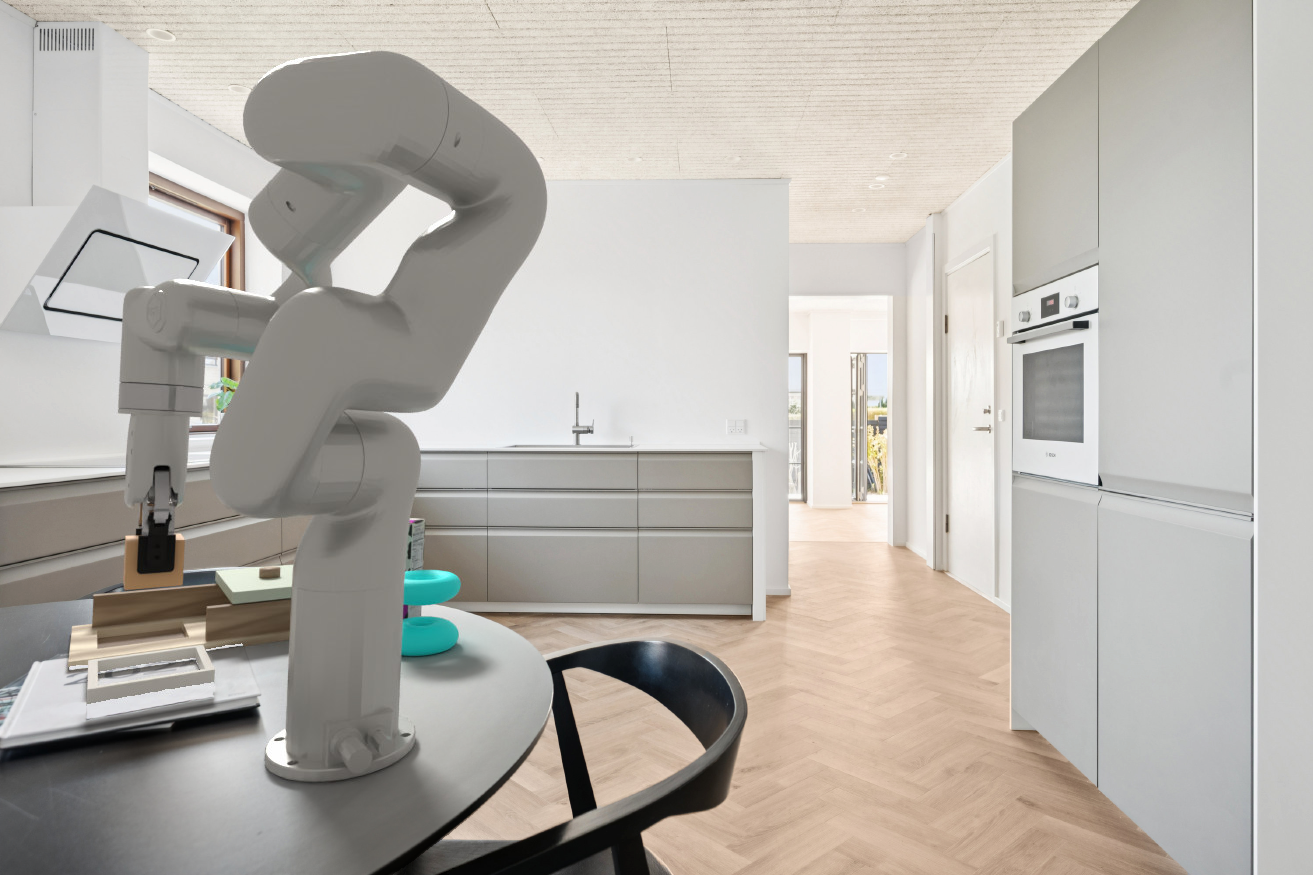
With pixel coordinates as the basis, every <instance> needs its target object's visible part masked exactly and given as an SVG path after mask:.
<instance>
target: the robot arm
mask: <svg viewBox="0 0 1313 875" xmlns="http://www.w3.org/2000/svg"><path fill="white" fill-rule="evenodd" d="M242 127H243V131H244V132H243V133H244V136H245V138H246V141H247V142H248V144H249V146H250V147H251V149H253V151H254V152H255V153H256V155H258V156H260V157H261V158H262V159H263V160H265V161H267V162H268V163H270V164H272V165H275V166H277V167H279V168H280V169H279V170H278V171H277V173H276V174H275V175H274V176H273V177H272V179H270V180H269V181H268V183H266V184H265V186H264V187H263V188H262V189H261V191H259V192H258V193H257V194H256V196H255V197H253V199H252V200H251V202H250V203H249V206H248V208H247V209H248V210H247V217H248V222H249V225H250V227H251V230H252V232H253V233H254V234H255V236H256V237H257V239H258V240H259V242H260V243H261V244H262V246H264V248H266V250H267V251H268V252H269V253H270V254H271V255H272V256H273V257H274V258H275V259H277V260H278V261H279V262H280V263H282V264H283V266H285V267H286V268H287V269H289V270H290V271H291V273H290V274H289V276H288V277H287V278H286V279H285V280H284V282H283V283H282V284H281V285H280V286H278V288H276V290H274V292H273V293H271V294H269V295H268V296H263V295H260V294H256V293H251V292H246V291H243V290H238V289H233V288H229V287H225V286H220V285H219V286H218V285H214V284H209V283H205V282H200V281H197V280H196V281H195V280H191V279H184V278H183V279H182V278H178V279H177V278H176V279H175V278H174V279H169V280H166V281H163V282H161V283H159V284H157V285H155V286H137V287H133V288H131V289H129V290H127V292H126V293H125V295H124V297H123V305H122V322H121V340H120V341H121V342H120V343H121V345H120V362H119V363H120V364H119V383H118V384H119V385H118V401H117V402H118V403H117V404H118V405H117V414H123V415H126V414H127V415H130V416H129V424H128V431H127V438H126V439H127V440H126V452H125V472H124V473H125V476H124V477H125V478H124V496H123V501H124V503H125V505H126V506H127V508H130V509H135V504H138V505H139V511H138V528H135V535H142V536H138V556H137V572H138V573H139V574H151V573H164V572H172V571H173V570H174V565H175V545H176V534H177V533H175V518H176V516H175V515H176V514H175V513H176V512H175V511H176V508H178V507H179V506H181V505H182V504H183V503H184V498H185V490H186V482H187V474H188V473H187V472H188V459H189V447H190V446H189V445H190V444H189V443H190V442H189V441H190V421H191V418H203V415H204V414H203V412H204V411H203V410H204V395H205V394H204V393H205V392H204V390H205V389H204V388H205V374H206V373H205V371H206V370H205V368H206V357H207V358H222V359H230V360H236V361H241V362H242V361H243V362H247V366H246V368H245V370H244V371H243V373H242V376H241V378H240V381H239V382H238V384H237V387H236V389H235V391H234V393H233V395H232V397H231V399H230V402H229V403H228V406H227V407H226V410H225V411H224V414H223V416H222V418H221V421H220V422H219V426H218V428H217V430H216V432H215V436H214V439H213V442H212V445H211V449H210V450H211V451H210V455H209V456H210V457H209V465H208V466H209V467H208V468H209V478H210V479H209V480H210V483H211V487H212V490H213V492H214V494H215V496H216V497H217V499H218V501H220V503H221V504H222V505H223V506H224V507H225V508H226V509H228V510H229V511H231V512H233V513H234V514H237V515H240V516H243V517H244V518H245V517H246V518H250V519H258V520H259V519H260V520H261V519H263V520H265V519H266V520H267V519H268V520H269V519H272V520H273V519H287V518H288V519H289V518H298V517H307V516H311V519H310V521H309V522H308V524H307V526H306V527H305V530H304V532H303V534H302V535H301V538H300V540H299V542H298V545H297V548H296V552H295V555H294V560H293V564H292V565H293V573H292V589H291V613H290V637H289V640H288V641H289V642H288V664H287V668H288V669H287V687H286V689H287V690H286V691H287V692H286V712H285V713H286V714H285V717H286V718H285V728H284V729H283V730H281V731H280V732H278V733H276V734H275V735H274V736H273V737H272V738H270V740H269V741H268V742H267V744H266V746H265V749H264V758H263V759H264V760H263V761H264V765H265V767H266V768H267V770H268V771H269V772H271V773H272V774H274V775H276V776H278V777H281V778H282V779H287V780H291V781H292V780H293V781H297V782H309V783H311V782H312V783H316V782H317V783H318V782H320V783H321V782H332V781H334V782H335V781H340V780H341V781H342V780H347V779H351V778H357V777H358V778H359V777H361V776H365V775H368V774H371V773H374V772H377V771H379V770H381V769H382V770H383V769H385V768H386V767H389V766H391V765H393V764H395V763H397V762H399V761H400V760H401V759H402V758H404V757H405V756H406V755H408V754H409V752H410V751H411V750H412V749H413V747H414V745H415V743H416V733H417V731H416V727H415V725H414V723H413V722H412V721H410V719H408V718H407V717H405V716H403V715H400V698H401V697H400V696H401V695H400V694H401V692H400V691H401V674H402V673H401V671H402V670H401V669H402V667H401V666H402V655H401V649H402V625H403V600H404V580H405V566H406V548H407V536H408V527H409V521H410V518H411V514H412V509H413V505H414V501H415V496H416V492H417V490H418V489H417V488H418V484H419V481H420V475H421V466H422V464H421V463H422V458H421V457H422V456H421V448H420V445H419V443H418V439H417V437H416V436H415V433H414V432H413V430H412V429H411V428H410V427H409V426H408V424H406V423H405V422H404V421H403V420H401V419H400V418H398V417H396V416H394V415H392V414H390V413H395V414H397V413H398V414H399V413H400V414H414V413H421V412H426V411H428V410H431V409H432V408H434V407H436V406H437V405H438V404H439V403H441V401H443V398H445V396H446V395H447V394H448V392H449V390H450V389H451V387H452V386H453V383H454V381H455V380H456V378H457V376H458V375H459V373H460V372H461V370H462V368H463V366H464V364H465V362H466V360H467V359H468V358H469V355H470V353H471V351H472V350H473V348H474V346H475V345H476V342H477V341H478V339H479V338H480V335H481V334H482V332H483V330H484V328H485V326H486V325H487V323H488V322H489V319H490V317H491V315H492V313H493V312H494V309H495V307H496V306H497V304H498V302H499V300H500V298H501V297H502V295H503V294H504V292H505V290H506V289H507V288H508V286H509V284H510V283H511V281H512V280H513V279H514V278H515V275H516V274H517V273H518V272H519V270H520V268H521V267H522V266H523V265H524V263H525V261H526V259H527V258H528V257H529V255H530V253H532V251H533V249H534V247H535V245H536V243H537V241H538V239H539V237H540V235H541V233H542V230H543V227H544V223H545V220H546V217H547V210H548V190H547V183H546V180H545V176H544V172H543V170H542V168H541V165H540V163H539V160H537V158H536V156H535V155H534V153H533V152H532V150H531V149H530V148H529V146H528V145H527V144H526V143H525V142H524V141H523V139H521V138H520V137H519V135H518V134H516V132H514V131H513V130H512V129H511V128H510V127H509V126H508V125H507V124H505V123H504V122H503V121H501V119H500V118H498V117H496V116H495V115H493V114H492V112H490V111H488V110H487V109H486V108H485V107H483V106H481V105H480V104H479V103H478V102H475V101H474V100H473V99H471V98H469V97H468V96H467V95H466V94H464V93H463V92H462V91H461V90H459V89H458V88H456V87H454V86H453V85H452V84H451V83H449V82H448V81H446V80H445V79H443V77H441V76H440V75H439V74H437V73H435V72H434V71H433V70H431V69H429V68H428V67H427V66H425V65H424V64H423V63H420V62H419V61H417V60H416V59H413V58H412V57H410V56H407V55H404V54H401V53H398V52H394V51H389V50H366V51H356V52H348V53H347V52H346V53H336V54H327V55H317V56H310V57H304V58H303V57H302V58H298V59H295V60H294V59H293V60H290V61H287V62H285V63H283V64H280V65H278V66H276V67H274V68H273V69H271V70H270V71H268V72H267V73H266V74H264V75H263V76H262V77H261V78H260V79H258V81H257V82H256V83H255V84H254V86H253V88H252V89H251V91H250V92H249V93H248V97H247V99H246V101H245V104H244V107H243V113H242ZM408 185H409V186H411V187H413V188H415V189H417V190H419V191H421V192H423V193H425V194H427V195H430V196H431V197H434V198H436V199H438V200H440V201H443V202H445V203H446V204H448V206H449V208H450V209H451V213H450V214H449V215H448V216H446V217H444V218H443V219H441V220H439V221H437V222H436V223H434V224H433V225H431V226H430V227H429V228H427V229H426V230H425V231H424V232H422V234H420V235H419V236H418V237H417V238H416V239H415V240H414V241H413V242H412V243H411V245H409V247H408V248H407V250H406V251H405V252H404V254H403V256H402V259H401V261H400V262H399V265H398V267H397V269H396V271H395V273H394V274H393V276H392V278H391V280H390V281H389V283H388V284H387V286H386V287H385V289H384V290H383V291H382V292H381V293H379V294H377V295H372V294H369V293H365V292H361V291H357V290H352V289H351V288H350V289H349V288H344V287H339V286H333V275H332V269H331V268H332V267H331V265H332V263H333V262H334V261H335V260H336V259H337V258H338V257H339V256H340V255H341V254H342V253H343V251H345V250H346V249H347V248H348V247H349V246H350V245H351V243H353V242H354V241H355V240H356V238H358V237H359V235H360V234H362V232H364V230H365V229H367V228H368V227H369V225H370V224H372V223H373V222H374V220H375V219H377V218H378V217H379V216H380V214H381V213H382V212H383V211H384V210H385V209H387V207H388V206H390V205H391V203H392V202H393V201H394V200H395V199H396V198H397V197H398V196H399V195H400V194H401V193H403V191H404V190H405V189H406V188H407V187H408Z"/></svg>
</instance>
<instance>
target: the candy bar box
mask: <svg viewBox="0 0 1313 875" xmlns="http://www.w3.org/2000/svg"><path fill="white" fill-rule="evenodd" d="M425 535H426V519H425V518H415V517H410V521H409V527H408V536H407V548H406V566H405V571H414V570H424V560H425V559H424V558H425V556H424V555H425V540H426V539H425V537H426V536H425ZM420 616H422V606H413V605H405V604H403V619H406V618H411V617H420Z"/></svg>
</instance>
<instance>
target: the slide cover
mask: <svg viewBox="0 0 1313 875" xmlns="http://www.w3.org/2000/svg"><path fill="white" fill-rule="evenodd" d="M292 573H293V564H284V565H271V566H259V567H257V566H256V567H246V568H233V569H220V570H218V569H217V570H215V578H214V580H215V582H216V583H215V584H218V585H219V587H220V588H221V589H222V591H223V592H224V593H225V595H226V596H227V597H228V599H229V600H230V601H231V603H232V604H239V603H248V602H257V601H267V600H276V599H285V598H291V589H292Z"/></svg>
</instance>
